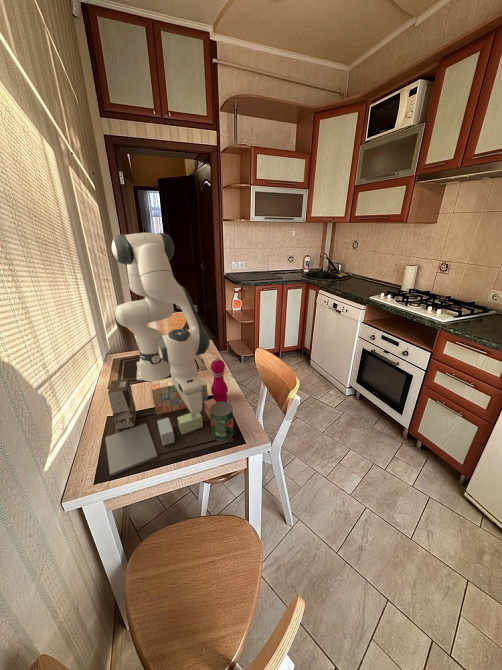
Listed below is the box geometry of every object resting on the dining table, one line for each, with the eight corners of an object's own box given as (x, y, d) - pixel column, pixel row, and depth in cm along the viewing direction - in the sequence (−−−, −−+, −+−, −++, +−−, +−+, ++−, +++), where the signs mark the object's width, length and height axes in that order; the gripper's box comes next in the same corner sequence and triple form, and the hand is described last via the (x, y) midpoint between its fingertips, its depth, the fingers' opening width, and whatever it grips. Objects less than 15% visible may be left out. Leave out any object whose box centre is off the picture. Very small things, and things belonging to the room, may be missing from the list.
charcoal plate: (105, 439, 97) (105, 437, 96) (146, 425, 103) (146, 423, 103) (110, 476, 82) (109, 474, 82) (157, 457, 89) (157, 455, 88)
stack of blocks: (205, 395, 121) (203, 371, 116) (208, 403, 115) (206, 378, 111) (155, 406, 114) (150, 381, 109) (155, 415, 109) (151, 389, 104)
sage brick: (178, 428, 101) (177, 417, 100) (199, 420, 105) (198, 410, 103) (182, 434, 98) (180, 423, 96) (203, 427, 102) (201, 416, 100)
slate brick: (163, 446, 93) (161, 434, 91) (159, 431, 100) (157, 420, 98) (174, 442, 95) (173, 430, 93) (170, 428, 102) (168, 417, 100)
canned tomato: (209, 428, 101) (207, 404, 97) (230, 423, 103) (228, 399, 99) (215, 443, 94) (212, 417, 90) (236, 437, 96) (235, 412, 92)
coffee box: (134, 426, 103) (126, 390, 97) (116, 430, 101) (106, 393, 95) (136, 411, 111) (129, 377, 105) (119, 414, 109) (111, 380, 103)
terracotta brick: (212, 423, 104) (211, 412, 102) (205, 411, 110) (204, 401, 108) (222, 419, 106) (221, 408, 104) (214, 408, 112) (213, 398, 110)
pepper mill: (214, 405, 114) (211, 362, 106) (209, 395, 120) (206, 355, 113) (230, 400, 117) (228, 359, 109) (225, 391, 123) (222, 352, 115)
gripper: (167, 366, 100) (172, 398, 105) (185, 393, 84) (189, 429, 89) (184, 362, 103) (188, 393, 108) (204, 387, 86) (208, 422, 91)
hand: (189, 409), depth 98 cm, fingers open, 8 cm apart
